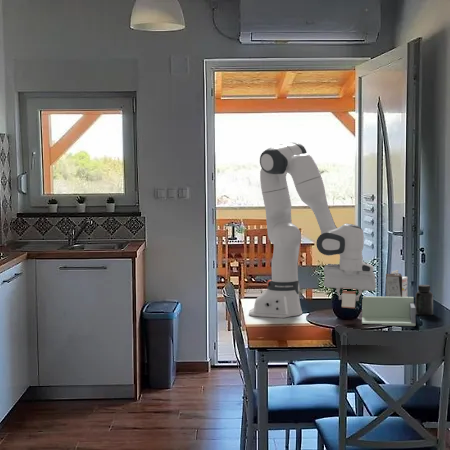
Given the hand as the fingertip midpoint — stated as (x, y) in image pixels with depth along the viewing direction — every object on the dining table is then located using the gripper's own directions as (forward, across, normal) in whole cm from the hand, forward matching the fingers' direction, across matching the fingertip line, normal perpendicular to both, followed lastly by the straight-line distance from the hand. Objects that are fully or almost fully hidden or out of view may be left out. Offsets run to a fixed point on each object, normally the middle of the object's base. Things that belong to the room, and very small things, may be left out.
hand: (348, 300), depth 268 cm
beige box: (+2, 0, 0) cm, 2 cm away
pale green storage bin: (+8, +16, +1) cm, 18 cm away
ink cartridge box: (+7, +22, +40) cm, 46 cm away
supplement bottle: (+7, +31, +17) cm, 36 cm away
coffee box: (+8, +19, +19) cm, 28 cm away
